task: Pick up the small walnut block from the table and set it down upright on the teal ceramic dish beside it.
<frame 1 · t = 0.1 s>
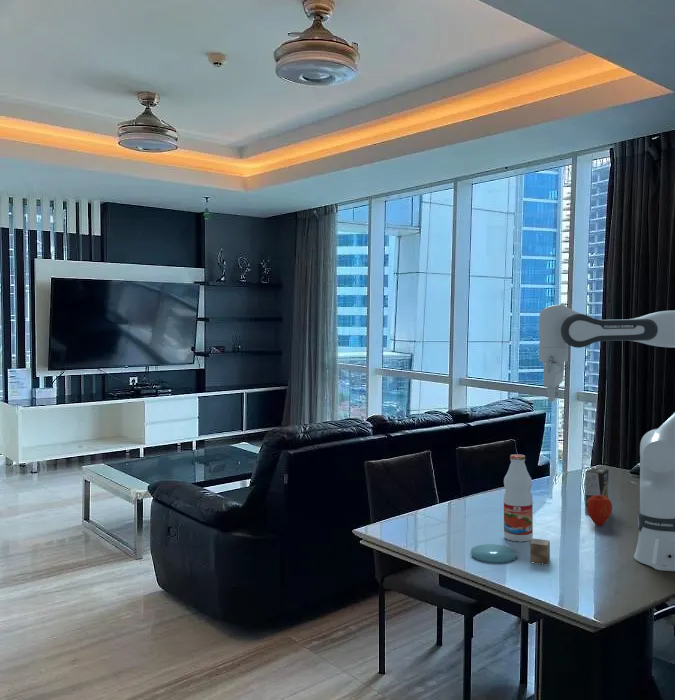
hand: (553, 399, 217), 48 cm above the table, tool pointing down, fingers open, 8 cm apart
fruit juice: (518, 538, 230), on the table
coffee box: (596, 512, 259), on the table
walnut block: (540, 561, 207), on the table
strawberry: (599, 525, 242), on the table
dish: (493, 555, 213), on the table
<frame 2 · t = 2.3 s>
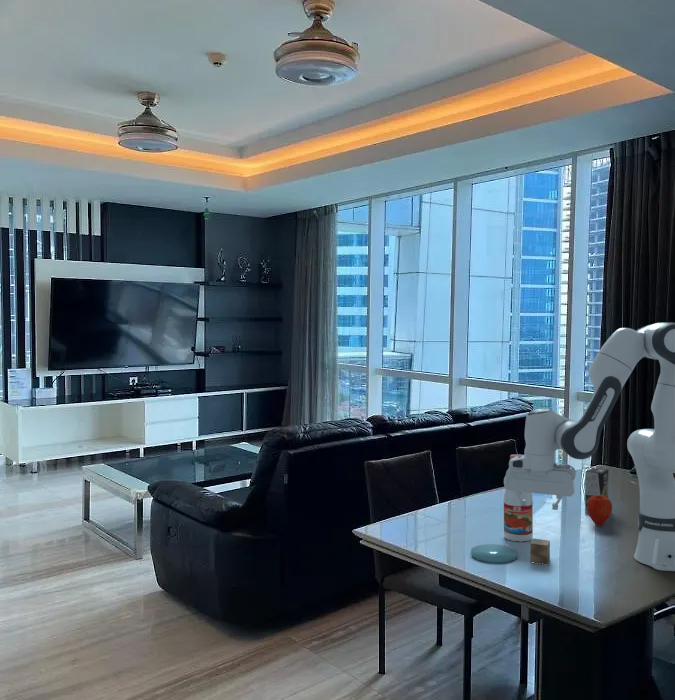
hand: (538, 507, 207), 16 cm above the table, tool pointing down, fingers open, 8 cm apart
nothing on the table moved.
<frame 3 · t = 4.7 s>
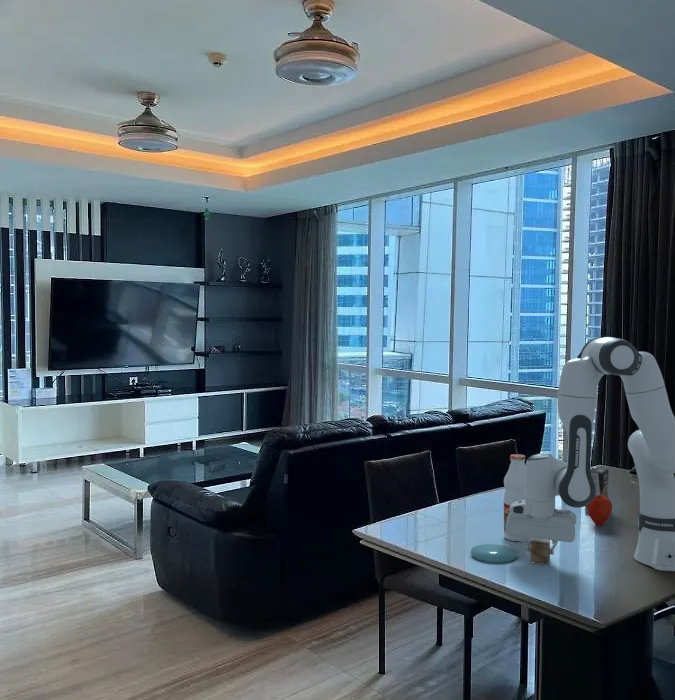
hand: (540, 552, 207), 3 cm above the table, tool pointing down, fingers closed on walnut block, 5 cm apart
walnut block: (540, 561, 207), on the table, touching gripper
everything else where it was.
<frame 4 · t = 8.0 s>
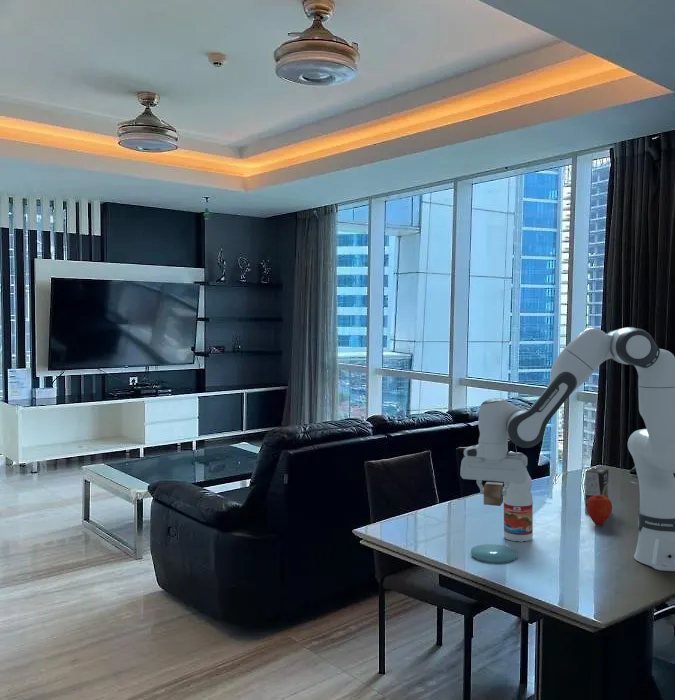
hand: (493, 494, 212), 19 cm above the table, tool pointing down, fingers closed on walnut block, 5 cm apart
walnut block: (493, 503, 212), point 16 cm above the table, touching gripper
everything else where it was.
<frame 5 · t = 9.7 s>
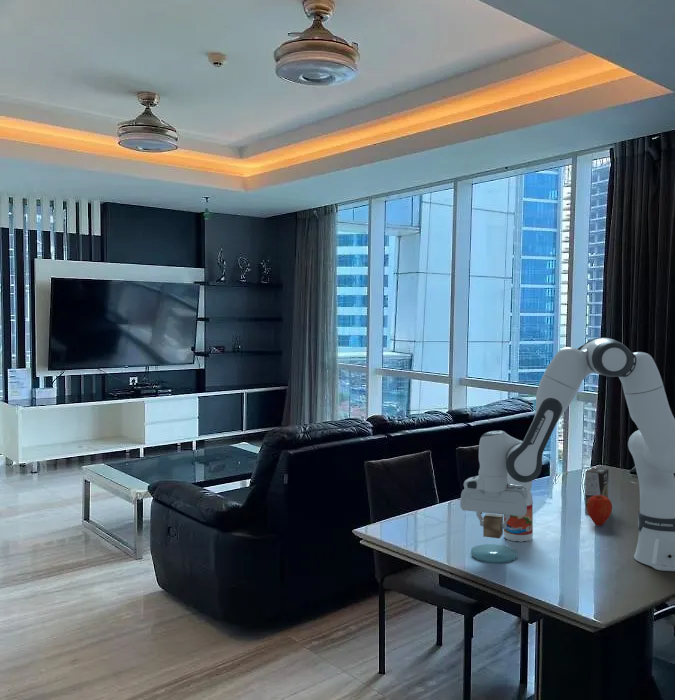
hand: (493, 526, 213), 9 cm above the table, tool pointing down, fingers closed on walnut block, 5 cm apart
walnut block: (493, 535, 213), point 6 cm above the table, touching gripper
everything else where it was.
when the fingers open (5 cm above the table, at t = 11.3 s): walnut block drops 1 cm, resting on dish.
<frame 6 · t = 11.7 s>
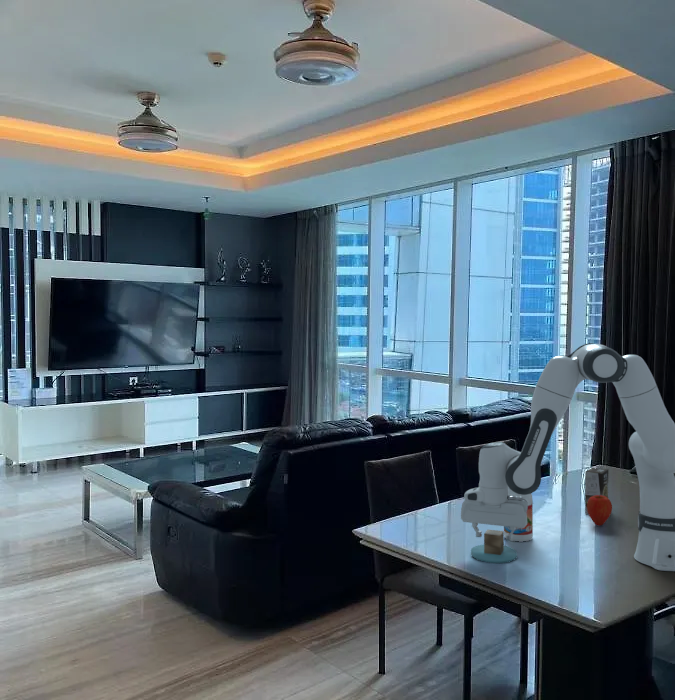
hand: (493, 538, 213), 5 cm above the table, tool pointing down, fingers open, 8 cm apart
walnut block: (494, 551, 213), point 1 cm above the table, touching dish
everything else where it was.
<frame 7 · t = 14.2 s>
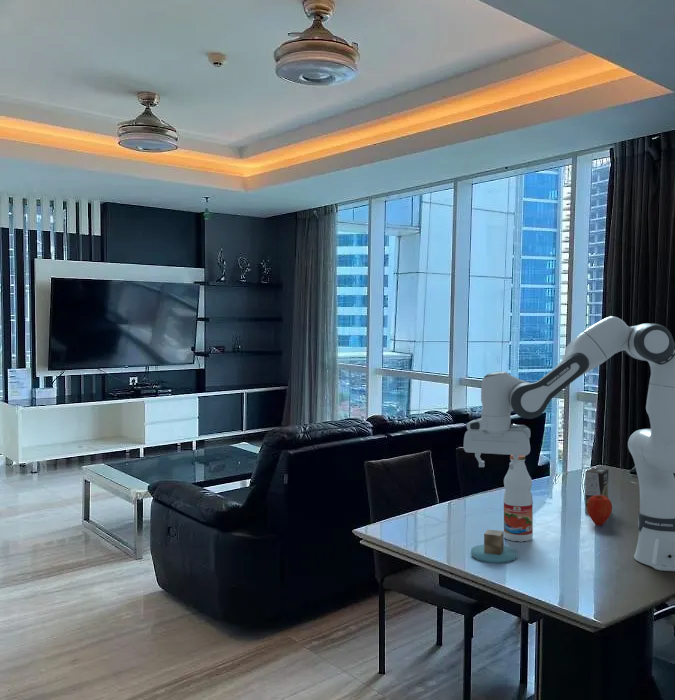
hand: (496, 467, 213), 27 cm above the table, tool pointing down, fingers open, 8 cm apart
nothing on the table moved.
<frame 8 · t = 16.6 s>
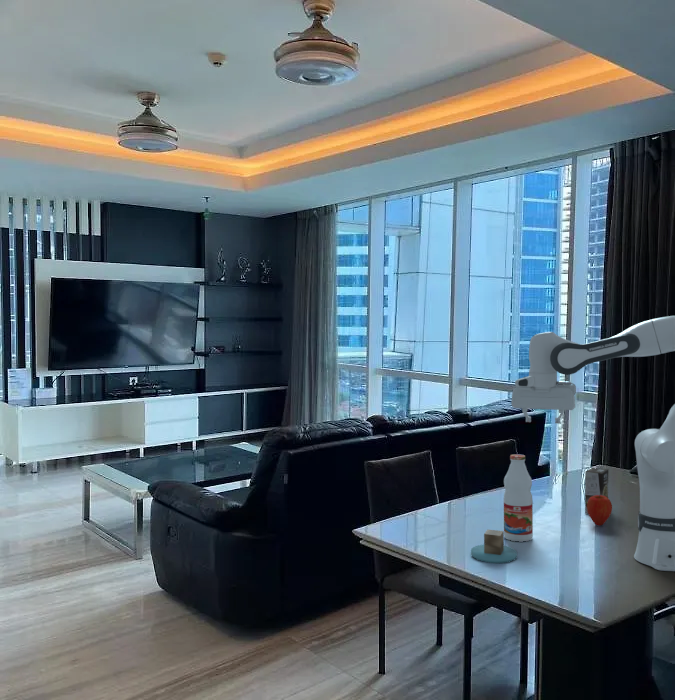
hand: (543, 422, 227), 39 cm above the table, tool pointing down, fingers open, 8 cm apart
nothing on the table moved.
at the end: walnut block inside the target area on the dish (0.1 cm from its centre), point 1.2 cm above the dish's base; walnut block tilted 0°; the gripper is holding nothing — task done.
